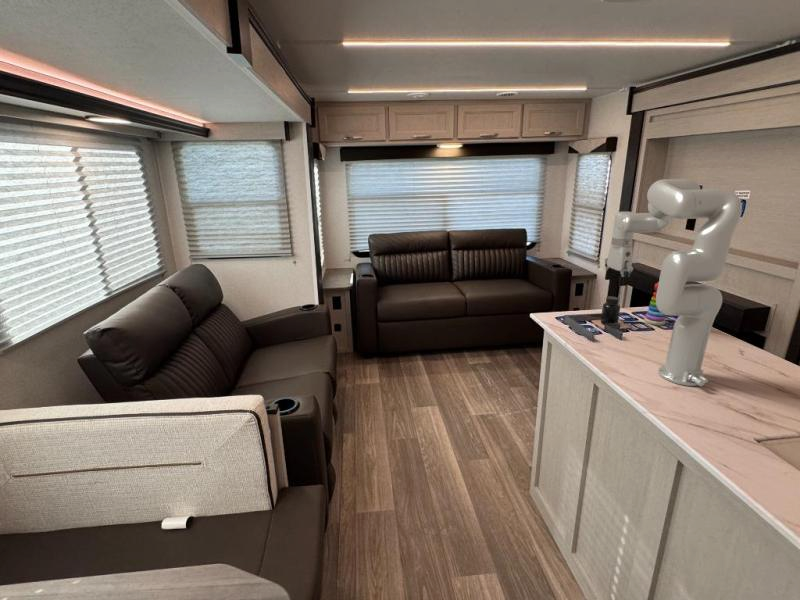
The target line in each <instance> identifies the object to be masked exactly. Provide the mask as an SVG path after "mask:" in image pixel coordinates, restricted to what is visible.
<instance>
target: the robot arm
mask: <svg viewBox="0 0 800 600" xmlns="http://www.w3.org/2000/svg"><path fill="white" fill-rule="evenodd" d="M646 198H647V201H648V204H647V209H648V212H634V211H617V212H616V214H614V221H613V229H612V234H611V235H612V236H611V243H610V247H609V250H608V254H607V258H605V259H604V267H605V269H604V270H605V276H604V280H605V281H612V280H613V277H614V271H618V272H619V273H620V275H621V276H620V277H619V282H618V286H619V287H625V286H628V280H629V277H630V276H631V274H632V272H633V271H634V267H633V266H632V265H633V253H634V251H633V247H632V246H633V240H634V234H641V233H643V234H644V233H645V234H646V233H649V234H650V233H655V232H658V231H661V230H662V229H664V228H666V227H667V226H668V225H669V224H670V223H671V221H672V218H673V219H677V220H679V219H680V220H686V219H688V220H689V219H690V220H693V219H696V220H697V219H707V221H706V222H705V223H704V224H702V226H701V227H700V228H699V229H698V230H697V232H696V234H695V238H694V241H693V242H694V243H693V246H692V248H691V249H688V250H687V249H684V250H683V249H681V250H675V251H672V252H670V253H669V254H667V256H666V257H665V258H664V260H663V262H662V265H661V269H660V273H659V280H658V282H659V283H658V282H657V283H658V288H657V294H656V306H657V309H658V310H659V312H661V313H662V314H664V315H665V316H675V317H676V316H678V317H677V318H676V320H675V322H674V324H673V326H672V327H673V328H672V332H671V338H670V340H669V341H670V342H669V346H668V351H667V356H666V360H665V364H664V365H661V366H660V367H659V368H658V374H659V376H660V377H662V378H663V379H665V380H667V381H669V382H671V383H675V384H678V385H682V386H689V387H697V386H699V387H703V386H704V385H705V384H706V383H708V382H709V379H708V378H706V377H705V376H704V370H702V366H703V361H704V358H705V353H706V350H707V345H708V341H709V338H710V335H711V332H712V328H713V325H714V322H715V319H716V317H717V315H718V313H719V311H720V309H721V308H722V305H723V295H722V292H721V291H720V290H719V288H717V287H716V286H713V285H711V284H703V283H701V284H699V283H698V284H696V283H691V284H686V283H688V282H711V281H716V280H718V279H719V278H720V277H721V276H722V275H723V272H724V269H725V266H726V261H727V258H728V254H729V250H730V246H731V242H732V239H733V235H734V234H735V233H734V232H735V230H736V228H737V226H738V224H739V221H740V220H741V216H742V210H743V205H742V201H741V198H740V196H738V195H737V194H736V193H735V192H733V191H731V190H727V189H720V188H719V189H717V188H716V189H715V188H714V189H713V188H709V189H708V188H707V189H706V188H705V189H704V188H702V189H701V186H700V184H699V183H698V182H697V181H695V180H693V179H688V178H667V179H666V178H665V179H664V178H663V179H659V180H657V181H654V182H653V183H652V184H651V185H650V186H649V188H648V190H647V193H646Z"/></svg>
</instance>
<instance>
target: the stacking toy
mask: <svg viewBox="0 0 800 600" xmlns="http://www.w3.org/2000/svg"><path fill="white" fill-rule="evenodd" d="M658 283H659V281H658V282H656V283H655V284H654V286H653V287H654V292H653V294H652V295H653V296H651V299H650V302H649V306H648V308H647V311H646V312H647V313H645V317H644V319H643V320H644V323H646V324H648V325H652V326H663V325H665V324H666V315H664V314H662V313H661V312H659V310H658V309H657V306H656V294H657V288H658Z"/></svg>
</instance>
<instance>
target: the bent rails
mask: <svg viewBox="0 0 800 600" xmlns="http://www.w3.org/2000/svg"><path fill="white" fill-rule="evenodd" d="M601 315H602V312H598V313H581V314H564V315H563V319H562V320H563V321H562V322H563V323H565V324H566V325H567V326H569V328H571V329H573V330H574V331H575V332H577V333H578V334H580V335H581V336H582V337H583V338H585V339H586V338H587V339H586V340H588V341H589V340H590V341H589V342H591V341H595V334H594V333H593V332H592V331H590V330H588V329H587V328H585V327H584V326H583V325H581V324H580V323H578V322H589V321H591V320H601ZM591 322H592V321H591ZM620 326H621V323H606V324H605V327H604V329H603V331H605V332H606V333H608V334H609V335H611V336H612V337H614V338H615V339H617V340H618V339H619V341H622V340H623V336H624V335H623V334H624V333H623V332H621V331H620V330H621V329H620Z"/></svg>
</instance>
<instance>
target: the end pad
mask: <svg viewBox="0 0 800 600" xmlns="http://www.w3.org/2000/svg"><path fill="white" fill-rule="evenodd" d="M591 322H592V323H594V324H595V325H597V326H598V327H599V328H601V329H603V330H604V327H605V325H603V324H601V320H591ZM618 323H621V326H620V330H621V329H632V327H631V326H629V325H628V324H626V323H624V322H623V321H621V320H620V319H619V320H618Z"/></svg>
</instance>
